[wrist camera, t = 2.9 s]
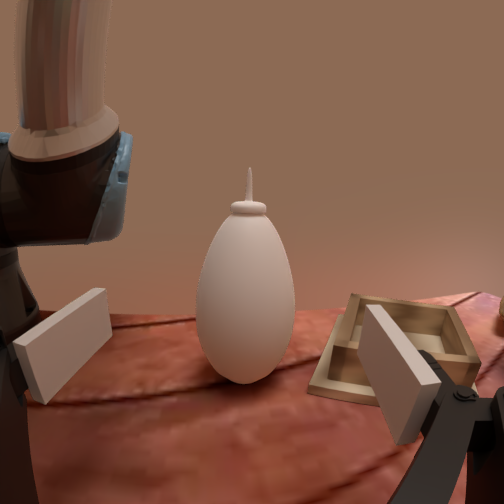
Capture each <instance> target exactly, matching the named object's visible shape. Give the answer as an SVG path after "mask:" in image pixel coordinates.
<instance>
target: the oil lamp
mask: <svg viewBox="0 0 504 504" xmlns="http://www.w3.org/2000/svg"><path fill="white" fill-rule="evenodd" d="M499 313H500V315H501V318H502V319H503V321H504V297H503V298H502V300H501V302H500V308H499Z"/></svg>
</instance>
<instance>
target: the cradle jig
mask: <svg viewBox="0 0 504 504" xmlns="http://www.w3.org/2000/svg"><path fill="white" fill-rule="evenodd" d="M366 305H381V306H382V307H383V309H384V310H385V311H386V312H387V313H388V315H389V316H390V317H391V318H392V319H393V321H394V322H395V323H396V324H397V326H398V327H399V328H400V329H401V331H402V332H403V333H404V334H405V336H406V337H407V338H408V339H409V341H410V342H411V343H412V344H413V346H414V347H415V348H416V349H417V350H424V351H426V352H428V353H429V354H431V355H432V356H433V357H434V358H435V359H436V361H437V362H438V363H439V364H440V366H441V367H442V369H444V371H445V372H446V373H447V374H448V376H449V377H450V378H451V379H452V381H453V382H454V383H455V384H456V385H464V386H467V387H470V388H472V389H473V390H474V391H476V392H477V389H476V386H475V383H474V381H475V379H476V376H477V374H478V371H479V369H480V366H481V364H482V363H481V361H480V359H479V357H478V354H477V352H476V350H475V348H474V346H473V344H472V342H471V340H470V337H469V335H468V333H467V331H466V329H465V327H464V325H463V323H462V321H461V320H460V318H459V316H458V314H457V312H456V310H455V308H454V307H450V306H442V305H434V304H426V303H418V302H410V301H403V300H395V299H388V298H380V297H373V296H367V295H359V294H351V296H350V299H349V302H348V305H347V308H346V311H345V314H344V315H342V314H339V315H338V318H337V320H336V323H335V325H334V328H333V330H332V333H331V335H330V337H329V340H328V342H327V345H326V347H325V349H324V352H323V354H322V356H321V359H320V361H319V363H318V365H317V368H316V370H315V372H314V374H313V377H312V379H311V381H310V383H309V387H308V394H313V395H318V396H323V397H328V398H333V399H338V400H343V401H349V402H355V403H361V404H367V405H374V406H380V405H379V403H378V401H377V398H376V396H375V394H374V391H373V389H372V387H371V384H370V382H369V380H368V378H367V375H366V373H365V371H364V368H363V366H362V364H361V362H360V360H359V357H358V355H357V350H358V345H359V340H360V335H361V330H362V325H363V319H364V313H365V307H366ZM477 394H478V392H477Z"/></svg>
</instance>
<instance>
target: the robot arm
mask: <svg viewBox="0 0 504 504" xmlns="http://www.w3.org/2000/svg"><path fill="white" fill-rule="evenodd" d="M112 1H113V0H17V4H16V15H15V34H14V65H15V86H16V99H17V109H18V118H19V123H18V125H17V127H16V128H15V130H14V131H13V133H12V134H9V133H4V132H0V504H39V501H38V496H37V491H36V486H35V481H34V475H33V469H32V462H31V455H30V446H29V436H28V423H27V400H26V396H25V394H24V392H25V391H26V390H27V389H28V388H29V391H30V393H31V396H32V398H33V400H35V401H38V402H40V403H42V404H45V405H46V404H47V403H48V402H49V401H50V400H51V398H52V397H53V396H54V395H55V394H56V393H57V392H58V391H59V390H60V389H61V388H62V387H63V386H64V385H65V384H66V383H67V382H68V381H69V379H70V378H71V377H72V376H73V375H74V374H75V373H76V372H77V371H78V370H79V369H80V368H81V367H82V366H83V365H84V364H85V363H86V362H87V361H88V360H89V359H90V358H91V357H92V356H93V355H94V354H95V353H96V352H97V351H98V350H99V349H100V348H101V347H102V346H103V345H104V344H105V343H106V342H107V341H108V340H109V339H110V338H111V337H112V336H113V335H112V328H111V322H110V315H109V309H108V301H107V293H106V289H103V288H93V289H92V290H90V291H88V292H87V293H85V294H83V295H82V296H80V297H79V298H77V299H76V300H74V301H72V302H71V303H69V304H68V305H66V306H65V307H63V308H62V309H60V310H59V311H57V312H56V313H54V314H53V315H51V316H50V317H48V318H47V319H45V320H44V321H42V320H41V315H40V311H39V306H38V303H37V301H36V299H35V297H34V295H33V293H32V291H31V289H30V287H29V285H28V283H27V281H26V279H25V276H24V274H23V272H22V270H21V268H20V264H19V259H18V251H17V247H21V246H46V245H71V244H84V245H88V244H89V243H93V242H102V241H109V240H112V239H114V238H115V237H117V236H118V235H119V234H120V233H121V231H122V228H123V222H124V213H125V202H126V193H127V183H128V174H129V167H130V160H131V152H132V144H133V137H132V135H131V134H127V133H125V132H121V133H119V119H118V116H117V114H116V113H115V112H114V111H113V110H111V109H110V108H109V107H107V106H106V105H105V104H104V83H105V63H106V51H107V39H108V30H109V22H110V14H111V7H112ZM357 355H358V357H359V360H360V362H361V364H362V366H363V368H364V371H365V373H366V375H367V378H368V380H369V382H370V384H371V387H372V389H373V391H374V394H375V396H376V398H377V401H378V403H379V405H380V408H381V410H382V412H383V415H384V417H385V420H386V422H387V425H388V427H389V429H390V432H391V434H392V437H393V439H394V442H395V444H396V445H402V444H408V443H413V442H415V440H416V439H417V437H418V435H419V433H420V431H421V432H422V434H423V436H424V440H423V441H422V443H421V445H420V447H419V449H418V451H417V452H416V454H415V456H414V459H413V461H412V462H411V464H410V466H409V468H408V470H407V471H406V473H405V475H404V477H403V478H402V480H401V482H400V483H399V485H398V487H397V488H396V490H395V491H394V493H393V495H392V496H391V498H390V499H389V501H388V502H387V504H448V502H449V500H450V498H451V495H452V493H453V490H454V488H455V485H456V482H457V480H458V477H459V474H460V471H461V468H462V465H463V462H464V459H465V456H466V452H467V482H466V498H465V504H504V386H503V387H500V388H499V389H498V390H497V391H496V393H495V396H494V398H479V395H478V394H477V392H476V391H474V390H473V389H472V388H470V387H467V386H464V385H456V384H455V383H454V382H453V381H452V379H451V378H450V377H449V376H448V374H447V373H446V372H445V371H444V369H442V367H441V366H440V364H439V363H438V362H437V361H436V359H435V358H434V357H433V356H432V355H431V354H429V353H428V352H426V351H424V350H417V349H416V348H415V347H414V346H413V344H412V343H411V342H410V341H409V339H408V338H407V337H406V336H405V334H404V333H403V332H402V331H401V329H400V328H399V327H398V326H397V324H396V323H395V322H394V321H393V319H392V318H391V317H390V316H389V315H388V313H387V312H386V311H385V310H384V309H383V307H382V306H381V305H366V307H365V313H364V319H363V325H362V330H361V335H360V340H359V345H358V350H357Z"/></svg>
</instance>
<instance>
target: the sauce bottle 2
mask: <svg viewBox="0 0 504 504" xmlns="http://www.w3.org/2000/svg"><path fill="white" fill-rule="evenodd" d="M230 210H231V212H233V213H232V214H231V215H230V216H229V217H228V218H227V219H226V220H225V221H224V222H223V224H222V225H221V227H220V228H219V230H218V231H217V233H216V235H215V237H214V239H213V241H212V243H211V245H210V248H209V250H208V252H207V255H206V258H205V260H204V263H203V266H202V270H201V274H200V278H199V282H198V288H197V296H196V326H197V332H198V337H199V341H200V344H201V347H202V349H203V351H204V353H205V355H206V357H207V359H208V361H209V362H210V364H211V365H212V367H213V368H214V369H215V370H216V371H217V372H218V373H219V374H220V375H222V376H224V377H225V378H228V379H229V380H231V381H233V382H235V383H239V384H249V383H253V382H255V381H257V380H259V379H262V378H264V377H266V376H267V375H268V374H270V373H271V372H272V371H273V370H274V368H275V367H276V366H277V365H278V363H279V362H280V361H281V359H282V357H283V356H284V354H285V352H286V349H287V347H288V344H289V342H290V339H291V335H292V331H293V325H294V317H295V296H294V286H293V280H292V275H291V270H290V266H289V262H288V258H287V255H286V252H285V249H284V247H283V244H282V242H281V239H280V237H279V235H278V233H277V231H276V229H275V227H274V226H273V224H272V223H271V221H270V220H269V219H268V218H267V217H266V216H265V215H264V214H263V213H266V206H265V204H263V203H260V202H253V201H252V172H251V168H249V169H248V174H247V182H246V197H245V201H240V202H234V203H233V204H232V205H231V207H230Z"/></svg>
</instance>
